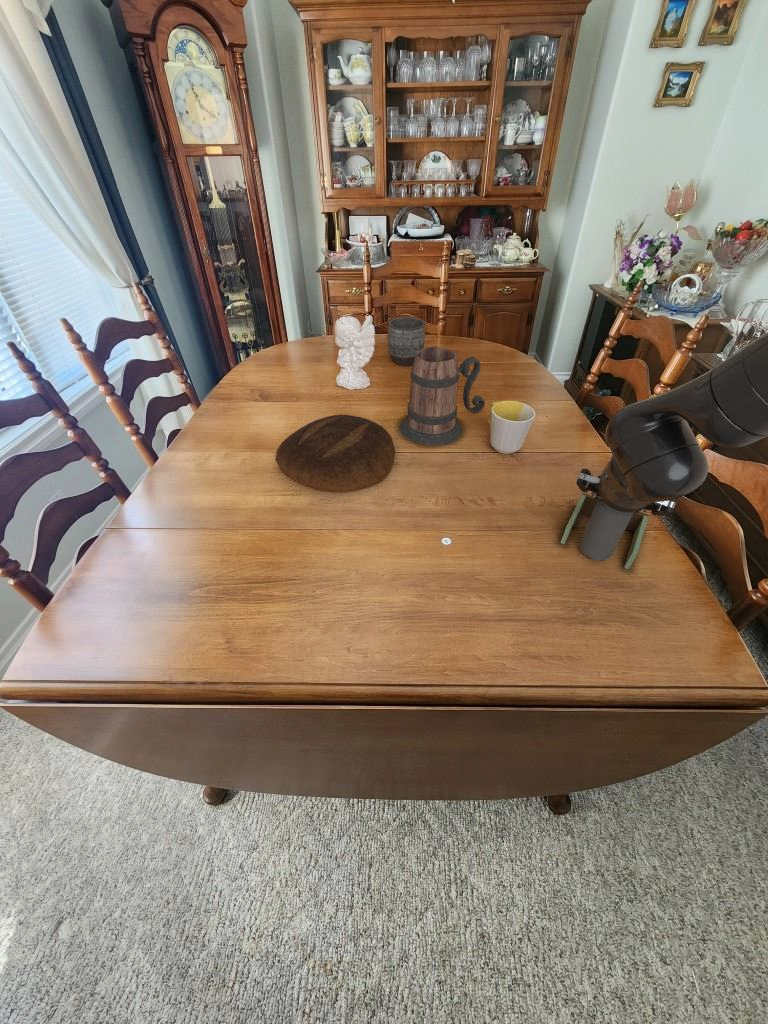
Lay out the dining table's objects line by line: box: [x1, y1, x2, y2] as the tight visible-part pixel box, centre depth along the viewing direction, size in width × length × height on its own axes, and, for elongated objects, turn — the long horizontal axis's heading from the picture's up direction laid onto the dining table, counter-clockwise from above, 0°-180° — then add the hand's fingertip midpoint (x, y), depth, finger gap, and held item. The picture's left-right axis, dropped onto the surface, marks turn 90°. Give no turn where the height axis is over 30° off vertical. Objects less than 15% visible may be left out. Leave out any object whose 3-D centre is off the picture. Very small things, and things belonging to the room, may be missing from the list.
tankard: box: [399, 346, 486, 446], centre depth 109 cm, size 24×17×20 cm
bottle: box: [578, 498, 633, 561], centre depth 75 cm, size 6×6×15 cm
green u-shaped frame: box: [559, 492, 650, 570], centre depth 83 cm, size 12×12×4 cm
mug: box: [487, 400, 536, 455], centre depth 105 cm, size 14×10×10 cm
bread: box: [275, 414, 396, 493], centre depth 101 cm, size 28×27×9 cm
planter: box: [387, 316, 426, 367], centre depth 143 cm, size 12×12×13 cm
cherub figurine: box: [334, 314, 376, 391], centre depth 130 cm, size 13×12×20 cm
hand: (617, 500), depth 74 cm, fingers closed on bottle, 5 cm apart
